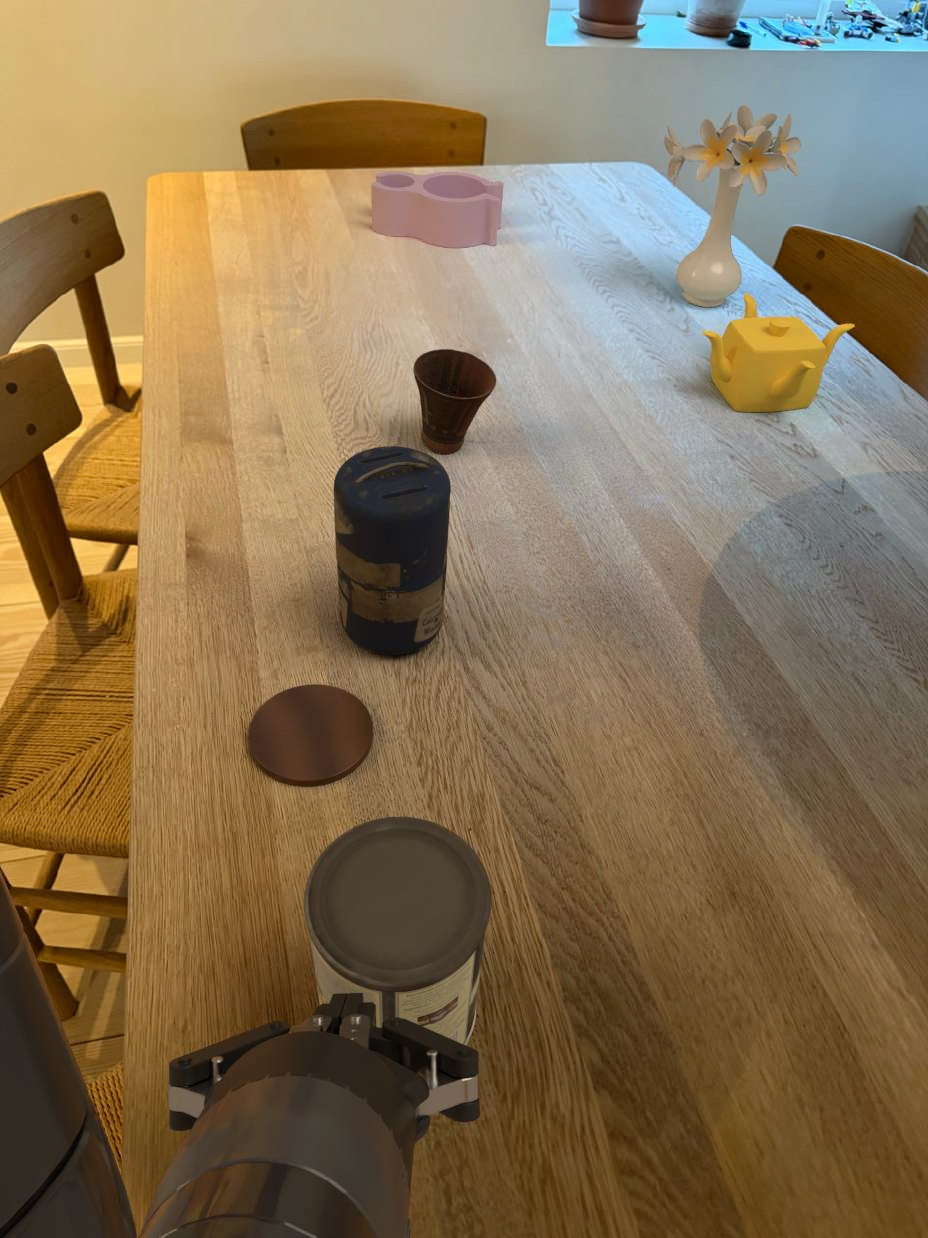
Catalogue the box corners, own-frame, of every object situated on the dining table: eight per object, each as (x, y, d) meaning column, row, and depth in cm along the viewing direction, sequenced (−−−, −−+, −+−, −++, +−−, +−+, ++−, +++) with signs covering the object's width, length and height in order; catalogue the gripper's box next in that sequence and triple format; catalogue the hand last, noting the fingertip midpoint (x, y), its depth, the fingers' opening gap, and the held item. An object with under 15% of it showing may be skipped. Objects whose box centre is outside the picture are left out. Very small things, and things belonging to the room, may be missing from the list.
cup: (482, 475, 105) (489, 395, 98) (403, 462, 106) (404, 382, 99) (496, 432, 111) (503, 353, 104) (422, 420, 112) (423, 342, 105)
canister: (335, 594, 90) (326, 432, 78) (435, 586, 92) (441, 425, 79) (345, 668, 83) (336, 503, 71) (452, 658, 85) (461, 494, 72)
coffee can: (383, 905, 67) (381, 786, 58) (506, 988, 63) (526, 875, 54) (284, 1024, 61) (263, 913, 51) (414, 1124, 57) (418, 1025, 47)
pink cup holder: (366, 239, 148) (365, 193, 144) (381, 208, 157) (380, 164, 153) (494, 251, 147) (497, 206, 142) (502, 220, 156) (505, 176, 151)
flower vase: (625, 282, 142) (657, 97, 125) (740, 276, 145) (787, 96, 128) (656, 323, 133) (694, 131, 115) (777, 317, 136) (833, 128, 119)
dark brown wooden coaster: (281, 806, 73) (280, 800, 72) (229, 718, 79) (228, 712, 78) (395, 754, 77) (395, 747, 76) (338, 674, 83) (338, 668, 82)
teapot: (684, 396, 119) (701, 324, 112) (726, 352, 128) (744, 283, 121) (797, 436, 114) (822, 363, 107) (832, 387, 123) (858, 317, 116)
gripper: (498, 1072, 30) (481, 931, 47) (73, 1086, 30) (212, 939, 47) (505, 1324, 29) (485, 1088, 47) (72, 1340, 29) (213, 1096, 46)
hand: (348, 1013), depth 47 cm, fingers closed
